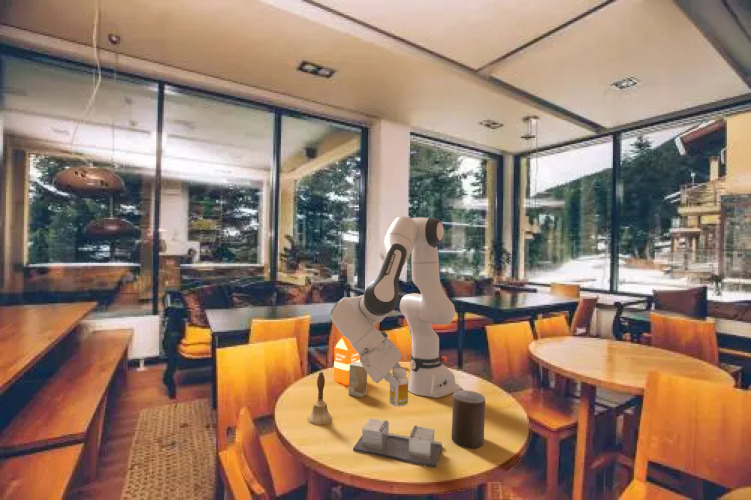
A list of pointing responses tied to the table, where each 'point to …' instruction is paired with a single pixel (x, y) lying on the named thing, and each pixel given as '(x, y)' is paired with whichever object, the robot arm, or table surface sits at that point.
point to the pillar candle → (468, 419)
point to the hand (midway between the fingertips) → (401, 381)
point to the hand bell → (320, 405)
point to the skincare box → (357, 379)
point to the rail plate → (399, 443)
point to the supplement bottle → (399, 388)
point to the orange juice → (344, 360)
